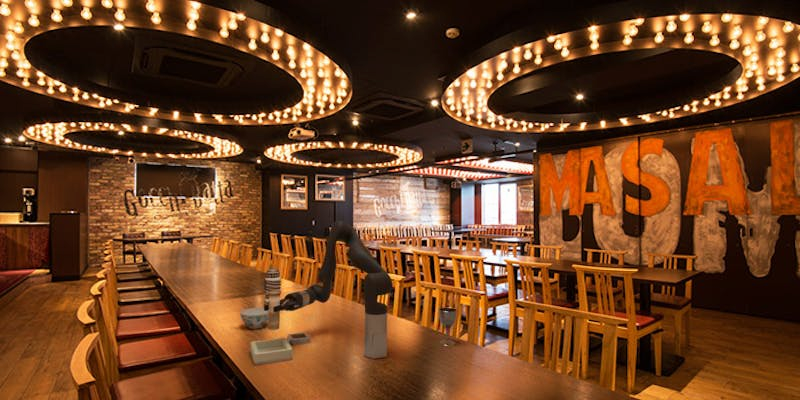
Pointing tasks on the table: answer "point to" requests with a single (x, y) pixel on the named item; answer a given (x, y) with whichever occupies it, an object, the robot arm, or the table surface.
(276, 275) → the decorative candle
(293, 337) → the stop collar
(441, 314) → the wine glass
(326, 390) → the table surface
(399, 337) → the table surface
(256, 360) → the tray
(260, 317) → the chinaware
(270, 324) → the stop peg
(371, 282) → the robot arm
